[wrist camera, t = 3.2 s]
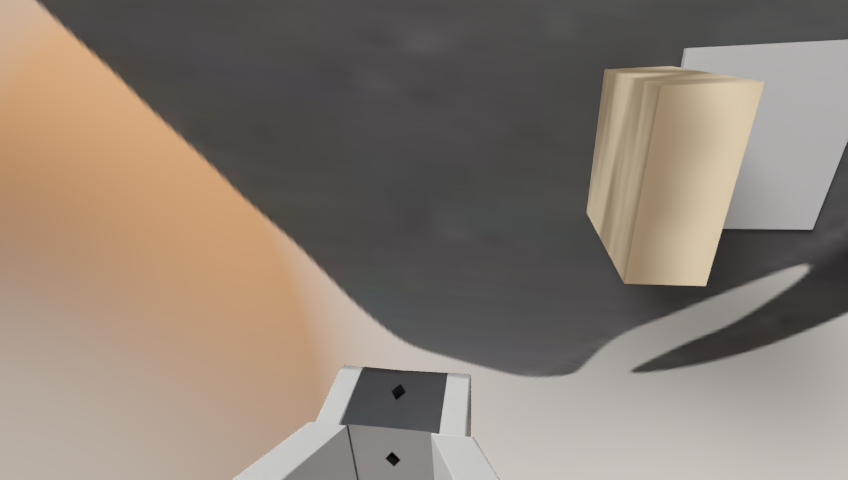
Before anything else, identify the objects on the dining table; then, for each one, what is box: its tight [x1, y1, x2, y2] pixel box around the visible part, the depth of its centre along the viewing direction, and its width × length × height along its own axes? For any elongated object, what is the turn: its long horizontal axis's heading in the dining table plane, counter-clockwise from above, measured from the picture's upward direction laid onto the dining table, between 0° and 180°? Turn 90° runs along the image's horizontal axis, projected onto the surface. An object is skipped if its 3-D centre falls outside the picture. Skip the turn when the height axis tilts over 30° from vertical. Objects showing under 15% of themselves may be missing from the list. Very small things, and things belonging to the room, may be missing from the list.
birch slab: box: [587, 66, 765, 286], centre depth 24 cm, size 4×10×10 cm, turn 3°
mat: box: [680, 40, 848, 230], centre depth 27 cm, size 10×12×1 cm
